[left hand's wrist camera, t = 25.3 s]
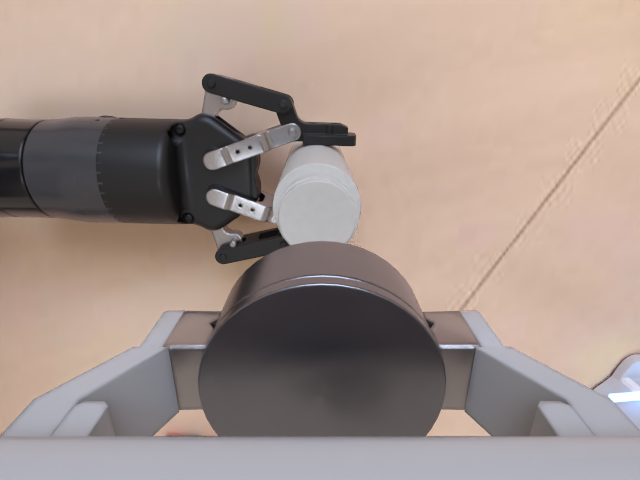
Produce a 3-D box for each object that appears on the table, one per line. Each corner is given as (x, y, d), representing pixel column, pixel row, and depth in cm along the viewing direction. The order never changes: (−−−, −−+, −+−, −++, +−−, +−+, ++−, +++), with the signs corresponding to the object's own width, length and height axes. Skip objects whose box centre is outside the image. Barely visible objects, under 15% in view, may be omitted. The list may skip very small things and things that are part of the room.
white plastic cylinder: (301, 194, 36) (292, 276, 20) (280, 145, 34) (252, 193, 19) (350, 175, 35) (379, 244, 20) (331, 124, 34) (345, 155, 18)
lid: (289, 433, 12) (283, 509, 10) (182, 300, 10) (145, 357, 8) (452, 361, 11) (484, 427, 9) (362, 201, 9) (375, 235, 7)
